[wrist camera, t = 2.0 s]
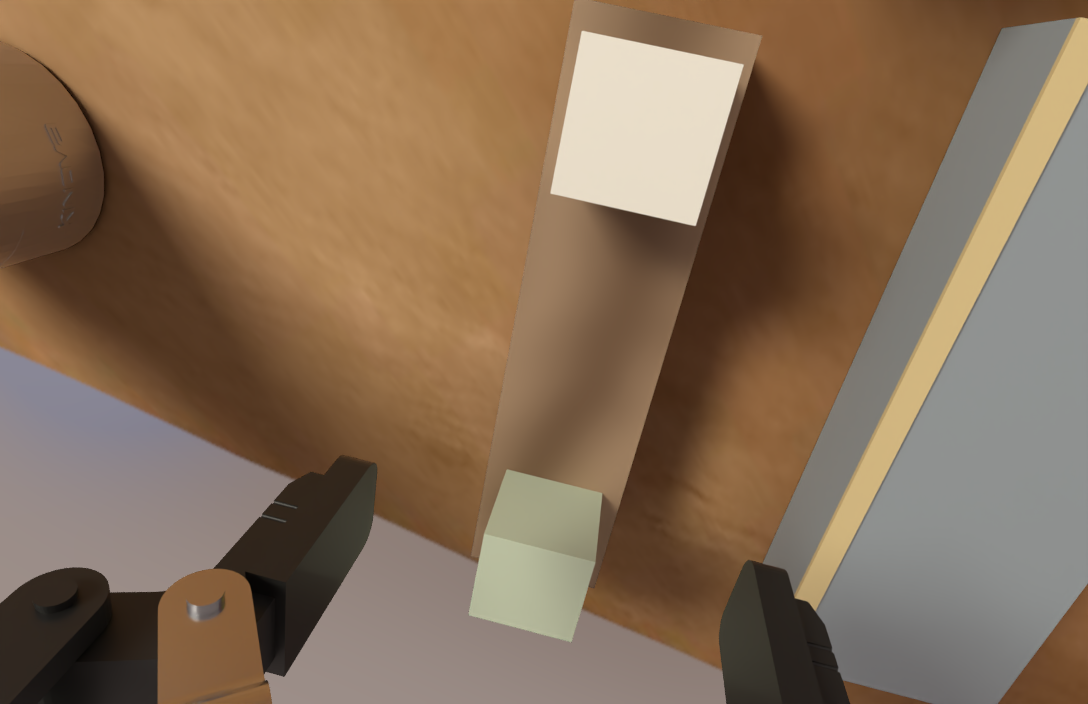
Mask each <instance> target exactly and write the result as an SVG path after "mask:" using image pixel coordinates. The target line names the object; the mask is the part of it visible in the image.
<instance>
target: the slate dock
mask: <svg viewBox="0 0 1088 704" xmlns="http://www.w3.org/2000/svg"><path fill="white" fill-rule="evenodd" d="M763 564H766V565H770V566H774V567H778V568H782V569H785V570H786V571H787V573H788V575H789V579H790V583H791V586H792V590H793V593H794V597H795V598H796V599H800V600H804V601H808V602H809V603H810V605H811V606H812V608H813V609H814V610H815V612H816V613H817V614H818V616H819V617H820V619H821V620H822V621H823V623H824V624H825V626H826V630H827V633H828V636H829V639H830V642H831V645H832V652H833V653H834V655H835V658H836V661H837V664H838V667H839V668H838V672H840V674H841V677H842V680H844V681H848V682H851V683H855V684H859V685H863V686H867V687H871V688H874V689H878V690H882V691H886V692H890V693H894V694H897V695H901V696H905V697H909V698H913V699H917V700H920V701H924V702H928V703H932V704H998V702H999V701H1000V700H1001V698H1002V697H1003V696H1004V694H1005V693H1006V692H1007V690H1008V689H1009V688H1010V686H1011V685H1012V684H1013V682H1014V681H1015V680H1016V678H1017V677H1018V676H1019V674H1020V673H1021V672H1022V670H1023V669H1024V668H1025V666H1026V665H1027V664H1028V662H1029V661H1030V660H1031V658H1032V657H1033V656H1034V654H1035V653H1036V652H1037V650H1038V649H1039V648H1040V646H1041V645H1042V644H1043V642H1044V641H1045V640H1046V638H1047V637H1048V636H1049V634H1050V633H1051V632H1052V630H1053V629H1054V628H1055V626H1056V625H1057V624H1058V622H1059V621H1060V620H1061V618H1062V617H1063V616H1064V614H1065V613H1066V612H1067V610H1068V609H1069V608H1070V606H1071V605H1072V604H1073V602H1074V601H1075V600H1076V598H1077V597H1078V596H1079V594H1080V593H1081V592H1082V590H1083V589H1084V588H1085V586H1086V585H1087V584H1088V19H1086V18H1081V17H1080V18H1073V19H1066V20H1058V21H1051V22H1044V23H1036V24H1029V25H1022V26H1015V27H1007V28H1002V29H1001V32H1000V34H999V36H998V38H997V41H996V43H995V45H994V47H993V49H992V52H991V54H990V56H989V58H988V61H987V63H986V65H985V67H984V70H983V72H982V74H981V76H980V79H979V81H978V83H977V85H976V87H975V90H974V92H973V94H972V96H971V99H970V101H969V103H968V105H967V108H966V110H965V112H964V114H963V117H962V119H961V121H960V123H959V125H958V128H957V130H956V132H955V134H954V137H953V139H952V141H951V143H950V146H949V148H948V150H947V152H946V155H945V157H944V159H943V161H942V164H941V166H940V168H939V170H938V172H937V175H936V177H935V179H934V181H933V184H932V186H931V188H930V190H929V193H928V195H927V197H926V199H925V202H924V204H923V206H922V208H921V210H920V213H919V215H918V217H917V219H916V222H915V224H914V226H913V228H912V231H911V233H910V235H909V237H908V240H907V242H906V244H905V246H904V248H903V251H902V253H901V255H900V257H899V260H898V262H897V264H896V266H895V269H894V271H893V273H892V275H891V278H890V280H889V282H888V284H887V286H886V289H885V291H884V293H883V295H882V298H881V300H880V302H879V304H878V307H877V309H876V311H875V313H874V316H873V318H872V320H871V322H870V324H869V327H868V329H867V331H866V333H865V336H864V338H863V340H862V342H861V345H860V347H859V349H858V351H857V354H856V356H855V358H854V360H853V362H852V365H851V367H850V369H849V371H848V374H847V376H846V378H845V380H844V383H843V385H842V387H841V389H840V392H839V394H838V396H837V398H836V400H835V403H834V405H833V407H832V409H831V412H830V414H829V416H828V418H827V421H826V423H825V425H824V427H823V430H822V432H821V434H820V436H819V438H818V441H817V443H816V445H815V447H814V450H813V452H812V454H811V456H810V459H809V461H808V463H807V465H806V468H805V470H804V472H803V474H802V477H801V479H800V481H799V483H798V485H797V488H796V490H795V492H794V494H793V497H792V499H791V501H790V503H789V506H788V508H787V510H786V512H785V515H784V517H783V519H782V521H781V523H780V526H779V528H778V530H777V532H776V535H775V537H774V539H773V541H772V544H771V546H770V548H769V550H768V553H767V555H766V557H765V559H764V561H763Z"/></svg>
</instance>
